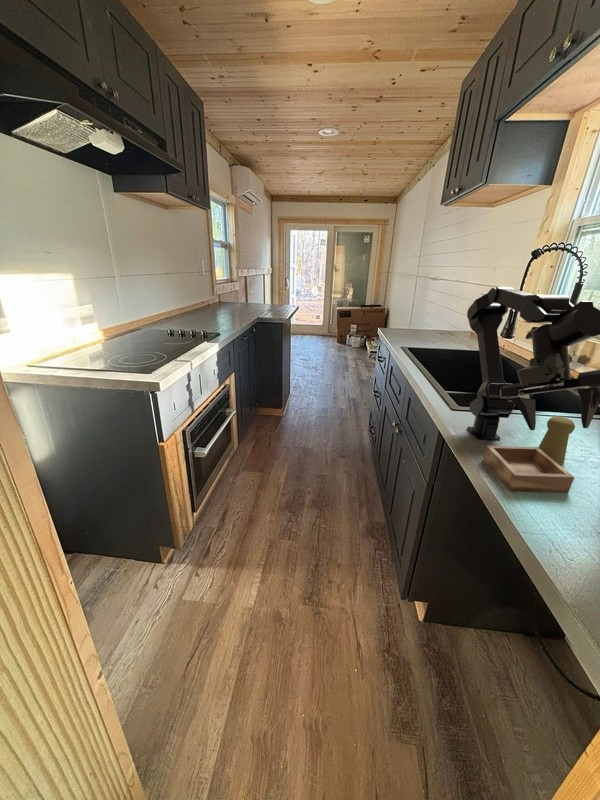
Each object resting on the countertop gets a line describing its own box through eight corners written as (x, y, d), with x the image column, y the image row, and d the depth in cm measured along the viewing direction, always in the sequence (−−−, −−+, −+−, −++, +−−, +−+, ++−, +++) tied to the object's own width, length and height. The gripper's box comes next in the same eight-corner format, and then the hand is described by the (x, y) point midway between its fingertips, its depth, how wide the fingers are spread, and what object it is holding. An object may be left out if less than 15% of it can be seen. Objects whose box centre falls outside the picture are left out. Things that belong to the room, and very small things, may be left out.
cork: (535, 449, 85) (548, 411, 81) (564, 457, 82) (579, 418, 77) (533, 459, 81) (546, 419, 77) (563, 468, 77) (579, 427, 73)
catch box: (483, 459, 80) (486, 445, 79) (533, 461, 80) (537, 447, 78) (510, 491, 69) (515, 475, 68) (568, 492, 69) (574, 477, 67)
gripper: (482, 358, 72) (486, 429, 70) (585, 332, 55) (595, 424, 53) (513, 365, 77) (518, 431, 74) (616, 343, 60) (627, 427, 58)
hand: (557, 429), depth 65 cm, fingers open, 9 cm apart
